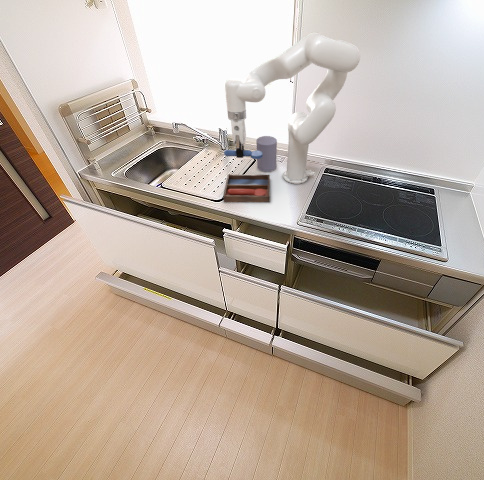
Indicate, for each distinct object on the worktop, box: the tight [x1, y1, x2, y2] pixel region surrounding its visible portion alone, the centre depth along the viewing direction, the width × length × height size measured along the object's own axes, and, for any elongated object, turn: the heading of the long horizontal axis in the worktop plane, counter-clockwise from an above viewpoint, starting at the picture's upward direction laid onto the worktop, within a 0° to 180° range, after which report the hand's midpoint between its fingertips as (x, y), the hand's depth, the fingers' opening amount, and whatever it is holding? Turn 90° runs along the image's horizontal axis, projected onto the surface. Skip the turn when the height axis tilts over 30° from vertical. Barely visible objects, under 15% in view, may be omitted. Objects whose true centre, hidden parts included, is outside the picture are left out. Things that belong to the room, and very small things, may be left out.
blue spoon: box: [223, 149, 263, 160], centre depth 119 cm, size 18×6×3 cm, turn 90°
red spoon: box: [227, 189, 265, 196], centre depth 121 cm, size 18×6×3 cm, turn 91°
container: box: [255, 135, 278, 173], centre depth 136 cm, size 10×10×15 cm
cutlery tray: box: [222, 173, 271, 203], centre depth 125 cm, size 21×18×3 cm
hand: (240, 155), depth 120 cm, fingers closed on blue spoon, 2 cm apart
